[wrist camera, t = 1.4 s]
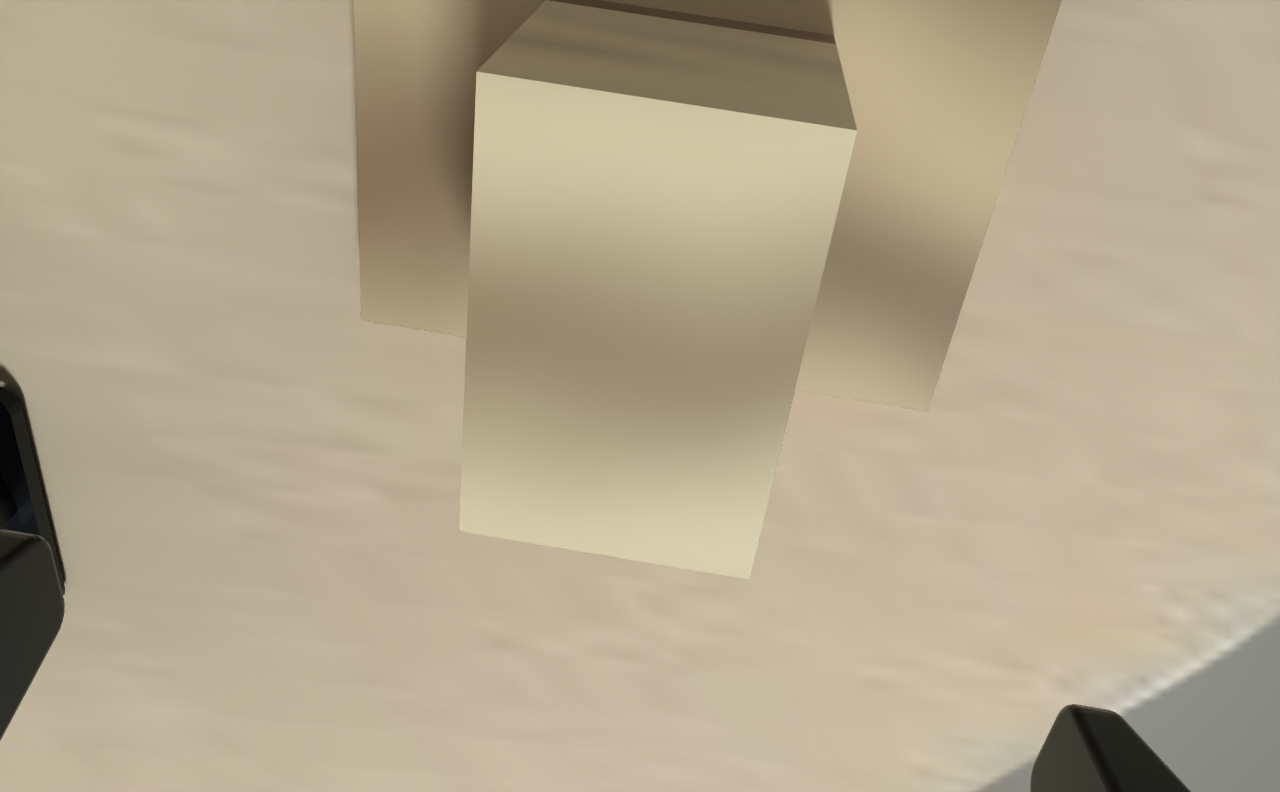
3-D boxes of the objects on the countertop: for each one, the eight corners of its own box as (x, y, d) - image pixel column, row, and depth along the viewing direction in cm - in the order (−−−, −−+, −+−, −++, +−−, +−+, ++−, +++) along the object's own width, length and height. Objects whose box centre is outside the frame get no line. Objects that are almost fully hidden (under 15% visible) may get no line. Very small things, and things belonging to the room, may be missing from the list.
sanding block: (753, 406, 20) (749, 579, 16) (525, 369, 20) (459, 530, 16) (834, 35, 16) (857, 130, 12) (552, -8, 16) (476, 71, 12)
